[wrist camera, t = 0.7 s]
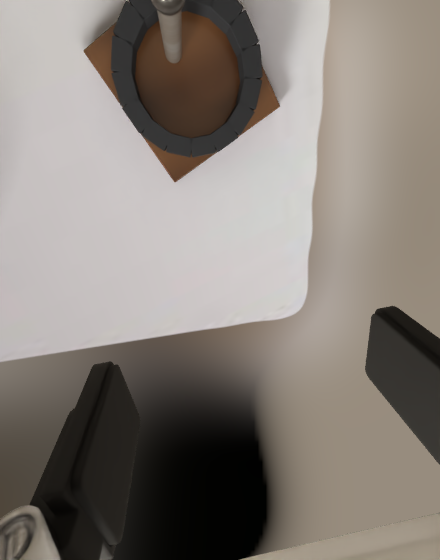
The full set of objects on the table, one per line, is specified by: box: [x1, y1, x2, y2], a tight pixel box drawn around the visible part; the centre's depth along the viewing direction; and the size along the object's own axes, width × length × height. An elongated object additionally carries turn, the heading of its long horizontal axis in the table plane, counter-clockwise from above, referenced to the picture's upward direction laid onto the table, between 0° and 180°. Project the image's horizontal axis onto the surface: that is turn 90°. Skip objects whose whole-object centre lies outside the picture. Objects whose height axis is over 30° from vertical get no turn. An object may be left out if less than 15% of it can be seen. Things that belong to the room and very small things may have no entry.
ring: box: [111, 0, 263, 157], centre depth 26 cm, size 14×14×2 cm
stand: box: [84, 0, 280, 182], centre depth 22 cm, size 14×14×14 cm
